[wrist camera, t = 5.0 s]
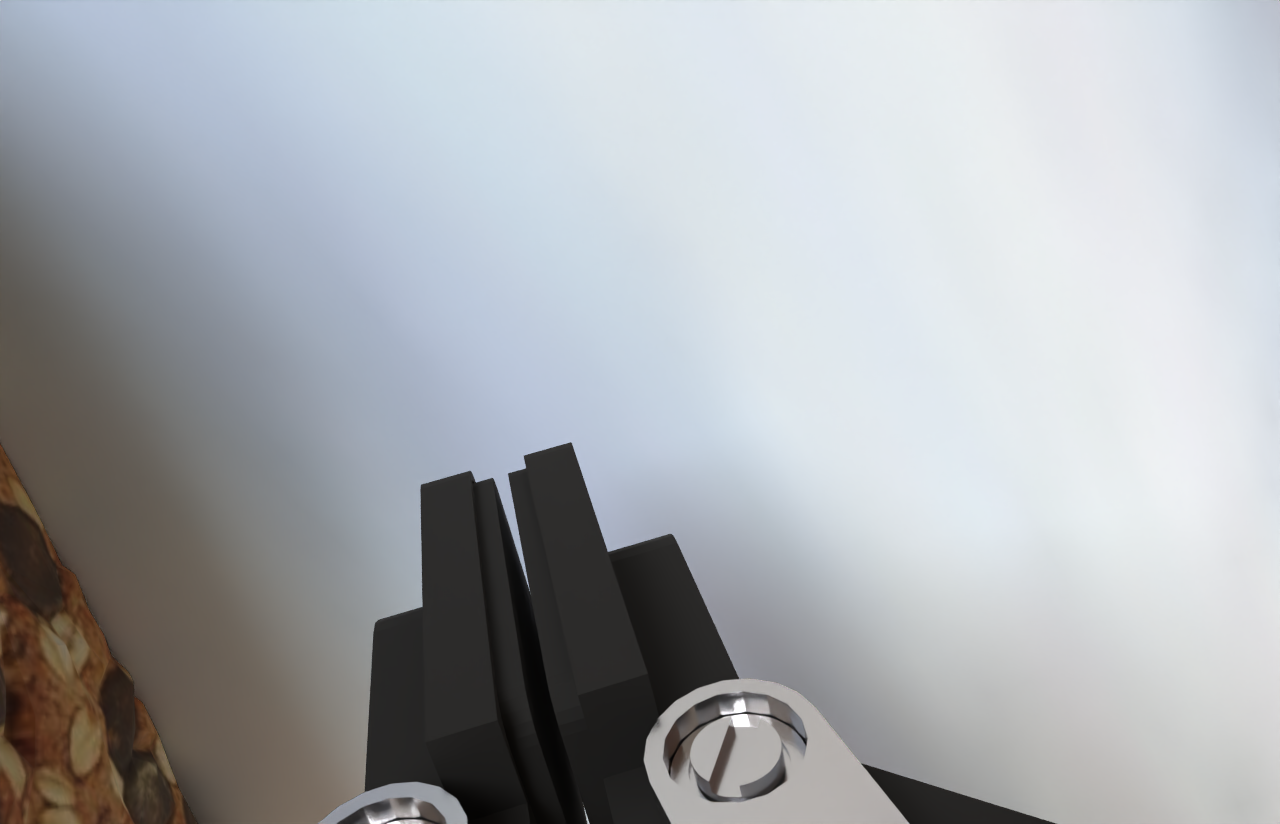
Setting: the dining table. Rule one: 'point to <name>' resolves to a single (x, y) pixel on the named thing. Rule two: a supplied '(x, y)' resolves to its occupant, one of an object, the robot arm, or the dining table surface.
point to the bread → (67, 696)
